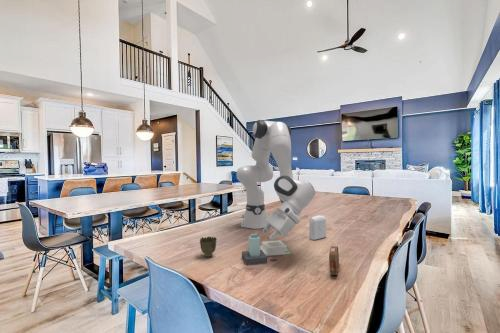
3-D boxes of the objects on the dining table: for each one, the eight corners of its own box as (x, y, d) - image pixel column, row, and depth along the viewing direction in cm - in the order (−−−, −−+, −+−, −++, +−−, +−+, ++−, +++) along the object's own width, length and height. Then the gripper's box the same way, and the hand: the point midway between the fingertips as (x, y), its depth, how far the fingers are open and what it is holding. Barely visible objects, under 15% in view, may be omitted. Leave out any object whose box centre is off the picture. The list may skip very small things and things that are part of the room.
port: (258, 247, 127) (258, 241, 127) (281, 245, 130) (281, 239, 130) (265, 256, 116) (265, 249, 116) (290, 253, 119) (290, 247, 118)
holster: (242, 257, 115) (241, 251, 115) (261, 255, 117) (261, 249, 117) (246, 265, 106) (246, 259, 106) (267, 263, 108) (267, 257, 108)
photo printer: (321, 235, 146) (321, 213, 145) (327, 237, 142) (327, 215, 142) (308, 238, 140) (308, 216, 140) (314, 240, 137) (314, 217, 136)
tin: (337, 279, 94) (337, 256, 93) (328, 278, 95) (328, 255, 95) (339, 263, 108) (339, 243, 107) (331, 262, 109) (331, 242, 109)
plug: (248, 258, 113) (248, 233, 113) (257, 257, 114) (257, 232, 114) (250, 262, 109) (250, 236, 109) (259, 261, 110) (259, 235, 110)
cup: (202, 253, 120) (201, 236, 120) (217, 253, 120) (217, 236, 119) (198, 259, 112) (198, 241, 112) (215, 259, 112) (215, 241, 112)
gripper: (275, 203, 124) (255, 225, 122) (291, 211, 104) (268, 238, 102) (284, 212, 125) (264, 233, 123) (302, 222, 105) (279, 248, 103)
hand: (266, 235), depth 112 cm, fingers open, 8 cm apart
